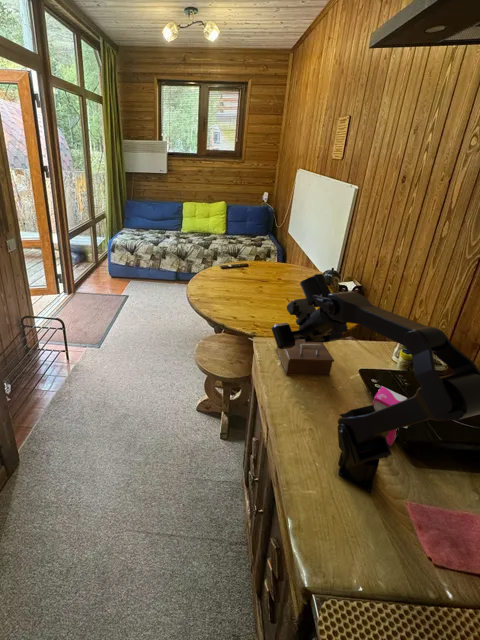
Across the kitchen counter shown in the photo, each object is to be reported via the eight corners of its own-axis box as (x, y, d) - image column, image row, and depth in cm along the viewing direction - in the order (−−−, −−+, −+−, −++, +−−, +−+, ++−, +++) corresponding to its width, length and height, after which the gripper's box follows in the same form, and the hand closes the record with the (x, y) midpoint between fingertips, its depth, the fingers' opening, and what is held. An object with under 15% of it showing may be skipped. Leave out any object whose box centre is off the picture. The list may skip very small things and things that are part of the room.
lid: (333, 362, 94) (336, 350, 93) (289, 361, 94) (291, 349, 93) (317, 336, 107) (319, 325, 105) (278, 335, 107) (279, 324, 105)
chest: (329, 375, 97) (332, 360, 95) (286, 374, 97) (288, 359, 95) (314, 350, 109) (317, 336, 107) (276, 349, 109) (278, 335, 107)
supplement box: (372, 419, 81) (382, 384, 78) (397, 434, 77) (409, 398, 74) (364, 432, 78) (374, 396, 74) (390, 448, 74) (402, 411, 70)
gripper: (338, 289, 83) (310, 313, 95) (276, 296, 78) (255, 320, 91) (358, 329, 77) (325, 348, 90) (292, 338, 72) (267, 357, 85)
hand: (293, 342), depth 89 cm, fingers open, 9 cm apart
